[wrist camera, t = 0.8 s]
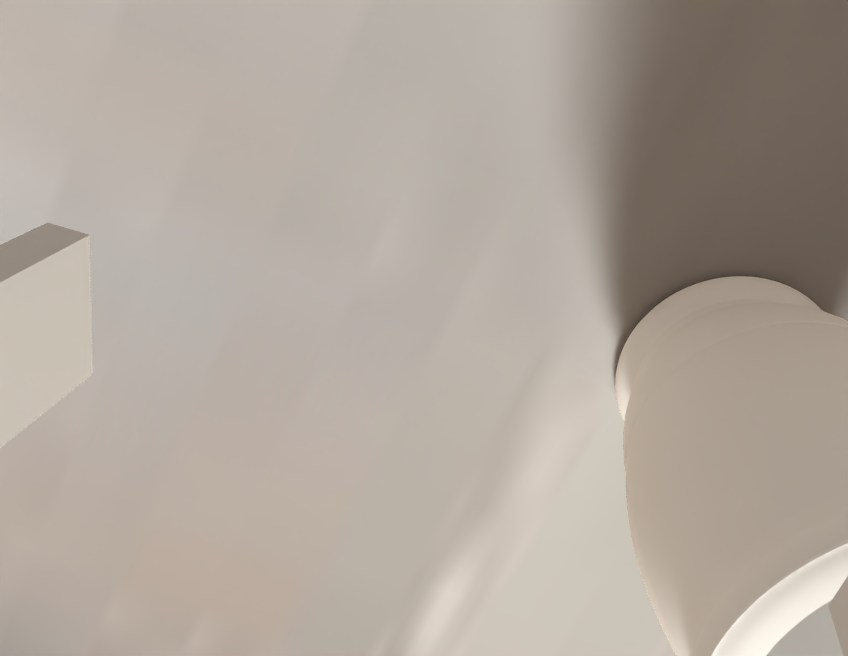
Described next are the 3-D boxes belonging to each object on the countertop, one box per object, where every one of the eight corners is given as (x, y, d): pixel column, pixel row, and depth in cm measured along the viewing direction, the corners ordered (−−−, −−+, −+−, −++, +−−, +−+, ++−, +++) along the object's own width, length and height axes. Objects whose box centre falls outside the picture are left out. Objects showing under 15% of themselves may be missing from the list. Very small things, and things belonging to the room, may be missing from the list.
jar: (532, 358, 29) (593, 687, 16) (769, 186, 26) (1104, 409, 13) (686, 527, 32) (850, 925, 19) (915, 391, 29) (1312, 751, 16)
